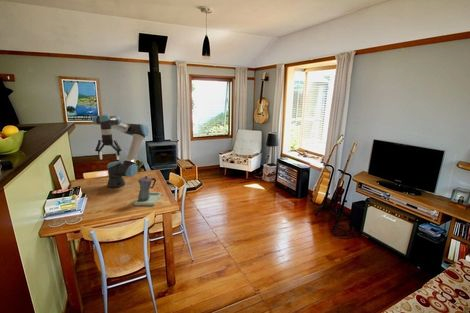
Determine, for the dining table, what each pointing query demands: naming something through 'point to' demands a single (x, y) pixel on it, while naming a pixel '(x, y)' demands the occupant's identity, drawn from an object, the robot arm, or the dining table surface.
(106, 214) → the dining table surface
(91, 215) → the dining table surface
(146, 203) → the tray
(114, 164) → the robot arm
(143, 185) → the moka pot
